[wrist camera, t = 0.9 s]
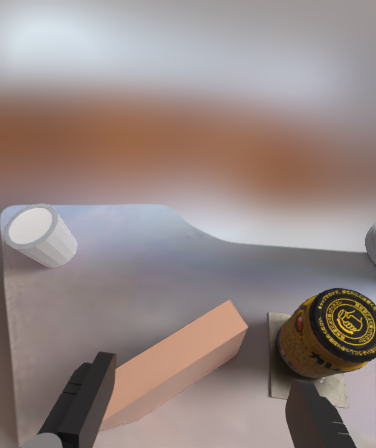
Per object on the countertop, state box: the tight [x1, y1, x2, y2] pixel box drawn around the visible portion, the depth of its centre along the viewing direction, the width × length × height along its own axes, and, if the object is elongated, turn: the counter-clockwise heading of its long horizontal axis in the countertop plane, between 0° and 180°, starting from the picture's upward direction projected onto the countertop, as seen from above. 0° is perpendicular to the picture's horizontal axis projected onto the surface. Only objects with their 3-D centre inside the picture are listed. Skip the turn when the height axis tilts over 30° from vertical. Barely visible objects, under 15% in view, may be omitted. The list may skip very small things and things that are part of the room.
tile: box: [98, 299, 248, 432], centre depth 23 cm, size 2×12×14 cm, turn 119°
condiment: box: [269, 288, 376, 408], centre depth 24 cm, size 7×8×12 cm
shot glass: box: [4, 204, 77, 268], centre depth 36 cm, size 7×7×7 cm
